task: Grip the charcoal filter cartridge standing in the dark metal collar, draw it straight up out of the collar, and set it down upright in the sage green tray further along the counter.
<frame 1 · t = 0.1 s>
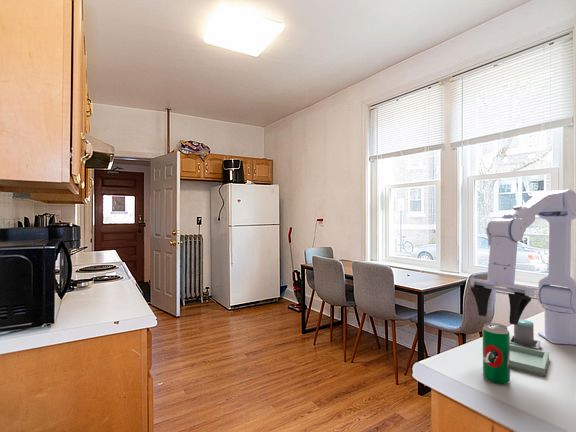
hand: (497, 319, 81), 11 cm above the worktop, tool pointing down, fingers open, 7 cm apart
cartridge: (523, 334, 90), in the collar
tray: (516, 360, 81), on the worktop
collar: (523, 346, 90), on the worktop
soda can: (496, 380, 72), on the worktop
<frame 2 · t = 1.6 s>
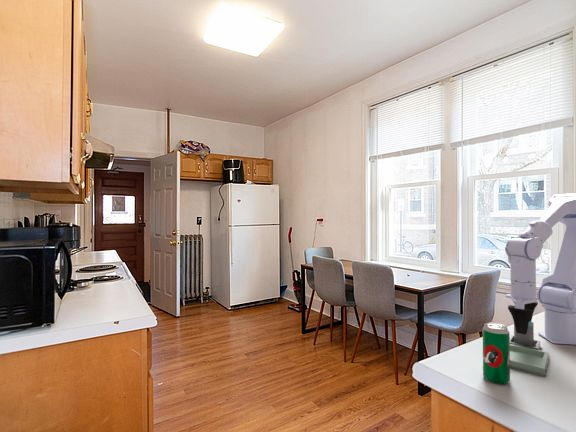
hand: (523, 329, 90), 5 cm above the worktop, tool pointing down, fingers open, 7 cm apart
nothing on the worktop moved.
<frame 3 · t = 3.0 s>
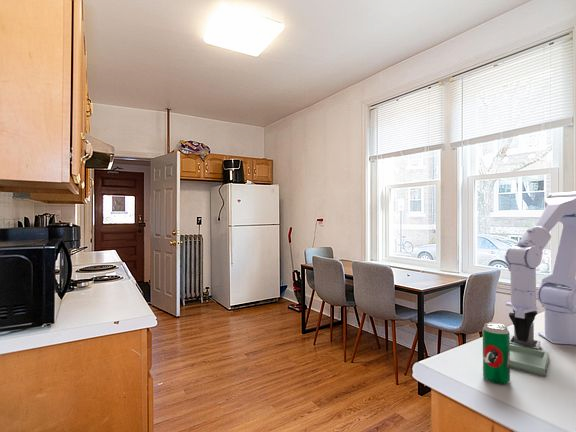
hand: (523, 338, 90), 2 cm above the worktop, tool pointing down, fingers closed on cartridge, 4 cm apart
cartridge: (523, 334, 90), in the collar, touching gripper
everything else where it was.
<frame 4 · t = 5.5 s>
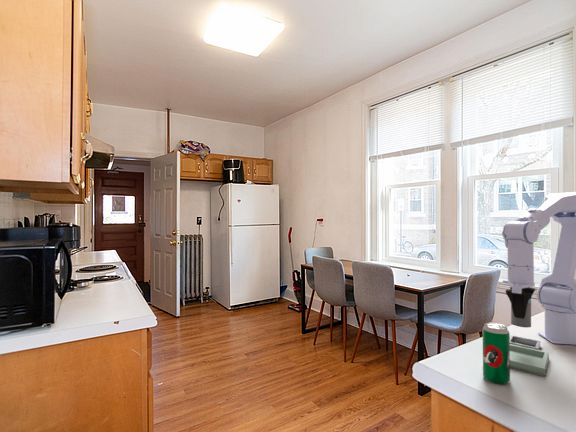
hand: (520, 315, 87), 9 cm above the worktop, tool pointing down, fingers closed on cartridge, 4 cm apart
cartridge: (520, 311, 87), point 11 cm above the worktop, touching gripper
everything else where it was.
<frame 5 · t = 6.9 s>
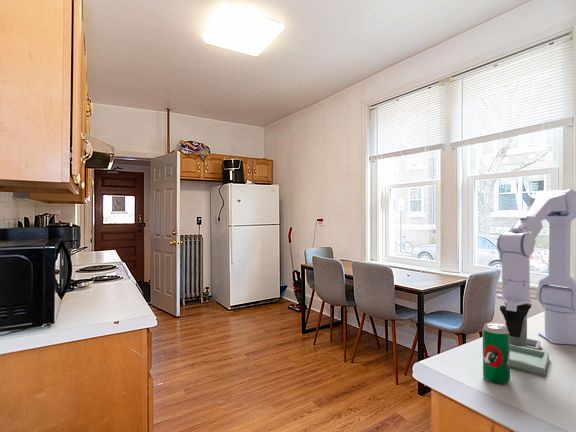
hand: (516, 333, 81), 7 cm above the worktop, tool pointing down, fingers closed on cartridge, 4 cm apart
cartridge: (516, 329, 81), point 8 cm above the worktop, touching gripper
everything else where it was.
when the fingers open (4 cm above the worktop, at t = 8.0 s): cartridge stays where it is, resting on tray.
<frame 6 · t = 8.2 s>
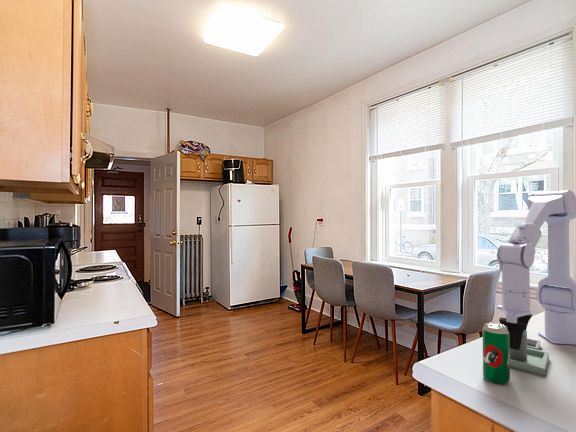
hand: (516, 344, 81), 4 cm above the worktop, tool pointing down, fingers open, 6 cm apart
cartridge: (516, 343, 81), in the tray, point 4 cm above the worktop
everything else where it was.
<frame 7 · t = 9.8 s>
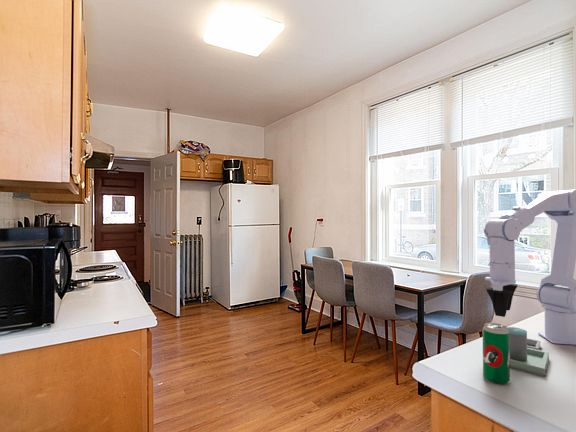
hand: (502, 312, 88), 10 cm above the worktop, tool pointing down, fingers open, 7 cm apart
nothing on the worktop moved.
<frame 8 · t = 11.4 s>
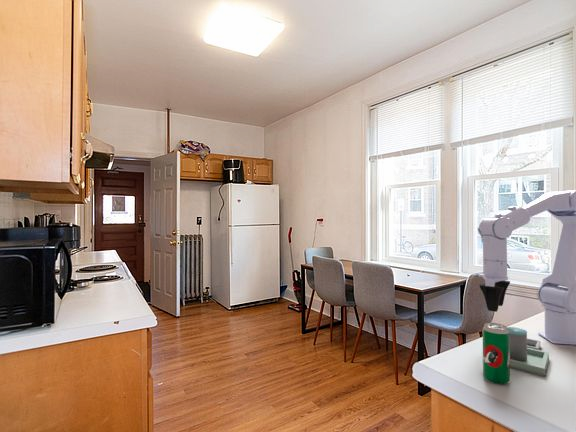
hand: (495, 308, 91), 10 cm above the worktop, tool pointing down, fingers open, 7 cm apart
nothing on the worktop moved.
at the end: cartridge inside the target area on the tray (0.0 cm from its centre), point 4.1 cm above the tray's base; cartridge tilted 0°; the gripper is holding nothing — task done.
